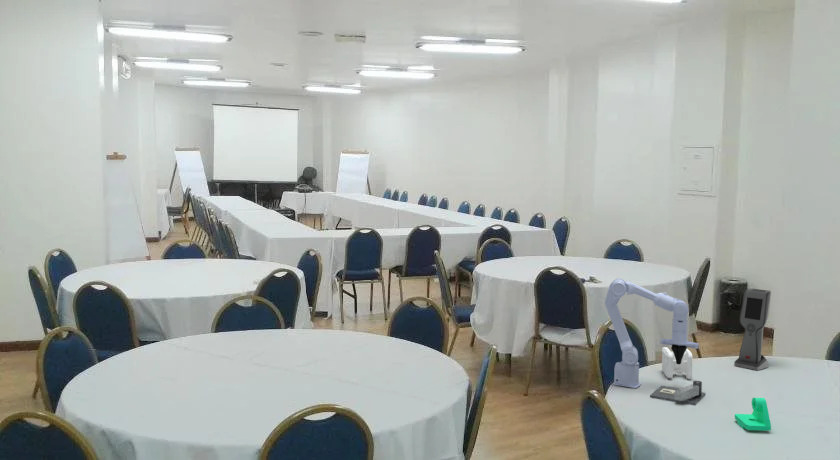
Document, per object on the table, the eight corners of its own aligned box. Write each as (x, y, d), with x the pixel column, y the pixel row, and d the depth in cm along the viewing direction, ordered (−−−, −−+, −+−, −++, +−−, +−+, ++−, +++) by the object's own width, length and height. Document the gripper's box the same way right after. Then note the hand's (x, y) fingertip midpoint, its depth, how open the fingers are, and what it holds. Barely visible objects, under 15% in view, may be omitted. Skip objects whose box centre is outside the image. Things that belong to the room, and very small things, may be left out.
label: (659, 392, 273) (659, 391, 273) (663, 389, 277) (663, 388, 277) (672, 394, 270) (672, 393, 270) (676, 391, 274) (676, 390, 274)
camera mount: (733, 421, 243) (734, 392, 242) (756, 421, 242) (757, 392, 241) (747, 433, 231) (748, 403, 230) (770, 433, 230) (771, 403, 229)
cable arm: (695, 393, 272) (695, 380, 271) (703, 395, 269) (703, 381, 269) (674, 400, 262) (674, 387, 261) (682, 403, 259) (682, 389, 259)
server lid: (649, 397, 269) (649, 395, 269) (661, 387, 282) (661, 385, 282) (695, 405, 259) (695, 403, 259) (705, 394, 272) (705, 392, 272)
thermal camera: (772, 366, 315) (774, 290, 313) (758, 371, 307) (760, 293, 305) (747, 361, 324) (749, 287, 322) (732, 365, 317) (735, 290, 314)
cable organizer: (693, 381, 291) (693, 354, 290) (666, 380, 293) (667, 353, 292) (685, 372, 306) (685, 346, 305) (660, 371, 308) (661, 345, 307)
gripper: (700, 331, 278) (699, 364, 279) (664, 326, 286) (663, 359, 287) (696, 334, 272) (695, 368, 273) (659, 329, 280) (658, 362, 281)
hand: (678, 363), depth 280 cm, fingers closed
